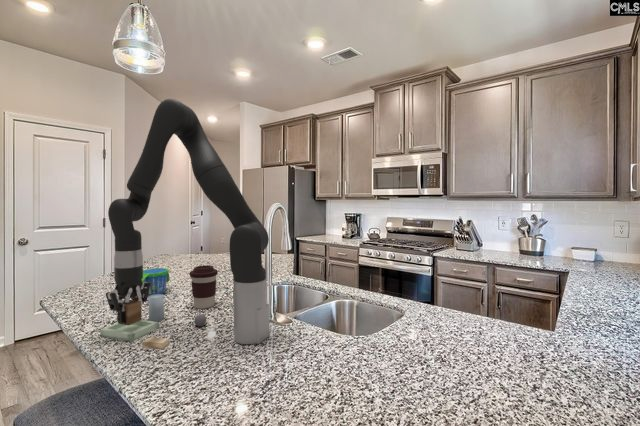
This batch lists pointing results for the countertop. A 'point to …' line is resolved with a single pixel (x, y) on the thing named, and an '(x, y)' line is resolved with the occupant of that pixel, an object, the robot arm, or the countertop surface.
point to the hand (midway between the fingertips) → (129, 320)
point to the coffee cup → (204, 286)
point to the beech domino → (155, 343)
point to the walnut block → (133, 312)
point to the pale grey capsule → (156, 307)
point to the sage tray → (129, 330)
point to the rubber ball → (200, 320)
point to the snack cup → (156, 280)
